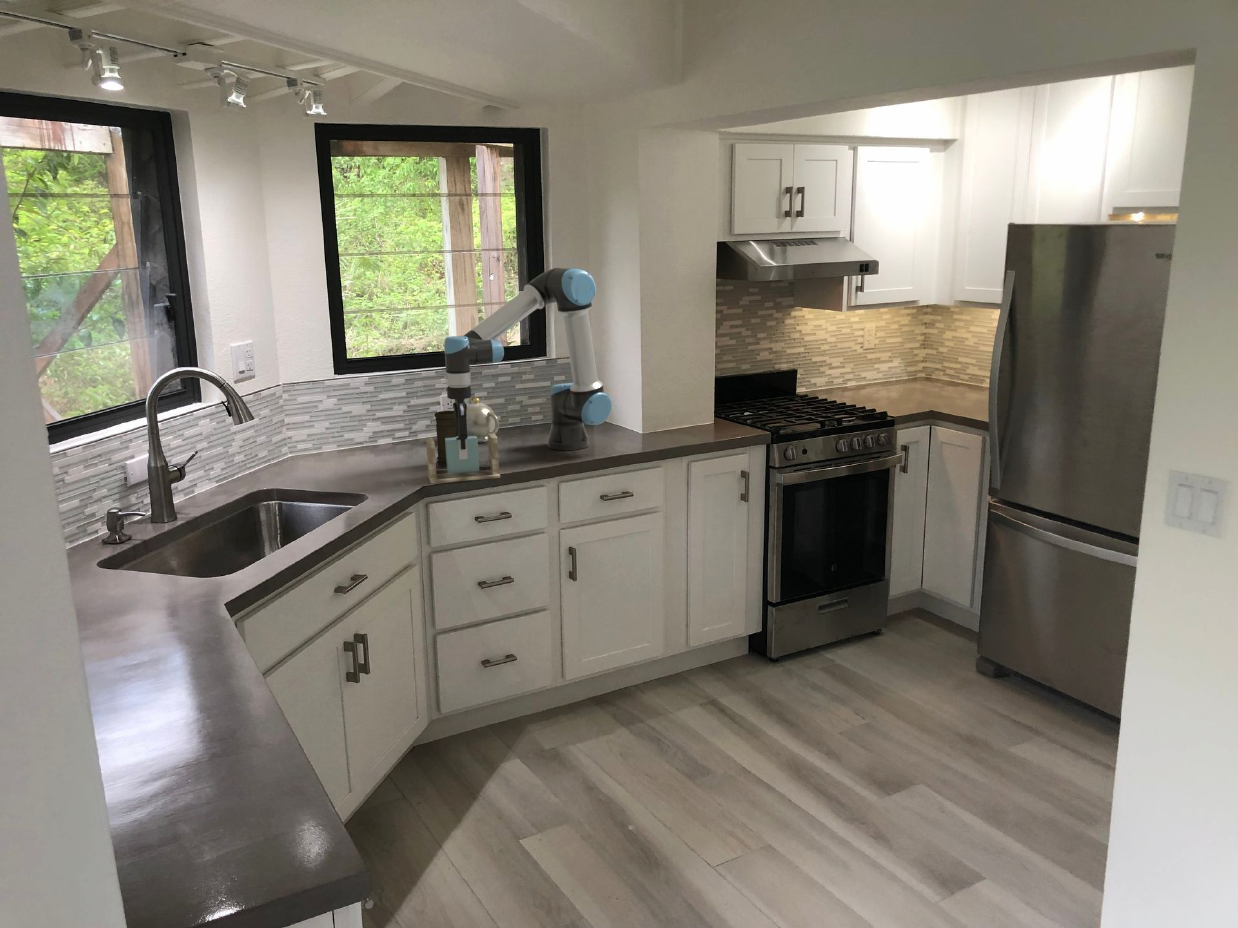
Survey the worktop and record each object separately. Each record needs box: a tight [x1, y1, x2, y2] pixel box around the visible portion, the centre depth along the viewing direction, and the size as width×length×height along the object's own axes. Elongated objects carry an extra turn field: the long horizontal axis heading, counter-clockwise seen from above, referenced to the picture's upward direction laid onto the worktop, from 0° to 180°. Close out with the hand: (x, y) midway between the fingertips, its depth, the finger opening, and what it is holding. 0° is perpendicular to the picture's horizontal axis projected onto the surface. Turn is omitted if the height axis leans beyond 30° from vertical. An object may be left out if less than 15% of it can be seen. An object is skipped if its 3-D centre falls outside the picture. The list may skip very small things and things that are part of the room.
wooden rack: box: [425, 433, 501, 484], centre depth 313 cm, size 22×11×13 cm, turn 106°
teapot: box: [466, 397, 500, 444], centre depth 362 cm, size 18×14×16 cm
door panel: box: [445, 436, 480, 474], centre depth 312 cm, size 10×4×11 cm, turn 106°
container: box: [434, 410, 457, 468], centre depth 328 cm, size 9×9×18 cm
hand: (462, 457), depth 313 cm, fingers closed on door panel, 3 cm apart
